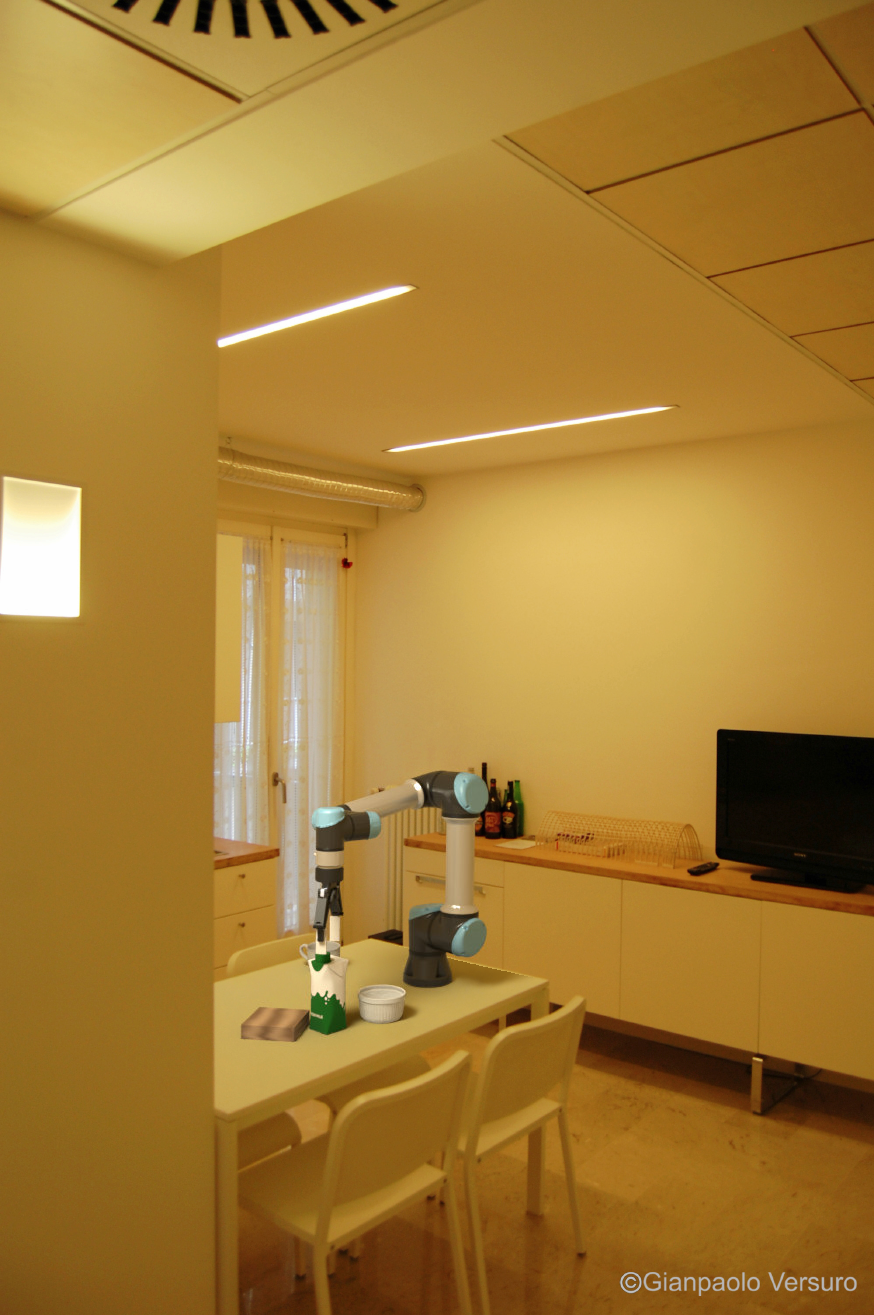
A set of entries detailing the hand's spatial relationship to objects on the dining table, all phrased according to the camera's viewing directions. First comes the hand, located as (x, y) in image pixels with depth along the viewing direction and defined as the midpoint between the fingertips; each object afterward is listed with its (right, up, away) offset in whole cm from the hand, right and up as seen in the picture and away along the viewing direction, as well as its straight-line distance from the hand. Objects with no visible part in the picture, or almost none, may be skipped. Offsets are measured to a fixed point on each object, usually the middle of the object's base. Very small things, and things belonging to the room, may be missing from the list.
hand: (328, 947), depth 253 cm
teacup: (-9, -24, +53) cm, 59 cm away
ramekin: (+14, -22, +8) cm, 27 cm away
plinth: (-13, -22, -3) cm, 25 cm away
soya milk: (0, -21, -1) cm, 21 cm away
